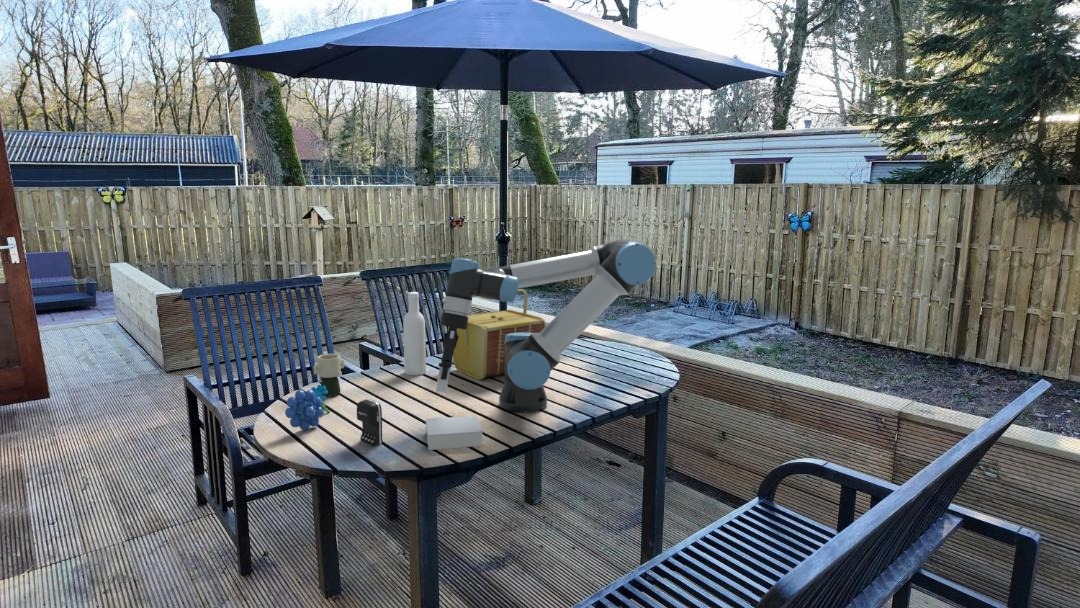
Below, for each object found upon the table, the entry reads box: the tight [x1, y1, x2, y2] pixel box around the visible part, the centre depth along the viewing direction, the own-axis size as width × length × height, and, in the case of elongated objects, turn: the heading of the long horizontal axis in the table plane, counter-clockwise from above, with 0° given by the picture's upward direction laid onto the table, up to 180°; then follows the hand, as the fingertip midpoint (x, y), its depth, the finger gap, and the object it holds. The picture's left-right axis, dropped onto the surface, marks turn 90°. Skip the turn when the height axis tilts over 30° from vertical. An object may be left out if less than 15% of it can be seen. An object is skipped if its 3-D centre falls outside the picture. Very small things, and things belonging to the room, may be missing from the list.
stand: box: [425, 415, 483, 451], centre depth 168 cm, size 14×12×4 cm
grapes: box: [284, 389, 325, 431], centre depth 172 cm, size 12×7×12 cm, turn 144°
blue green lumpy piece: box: [310, 384, 331, 414], centre depth 189 cm, size 11×6×10 cm
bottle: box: [403, 291, 427, 376], centre depth 228 cm, size 8×8×30 cm
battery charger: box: [356, 398, 383, 447], centre depth 164 cm, size 7×4×11 cm, turn 50°
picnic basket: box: [447, 288, 547, 381], centre depth 233 cm, size 29×26×30 cm
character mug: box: [313, 353, 345, 397], centre depth 203 cm, size 11×7×13 cm, turn 140°
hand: (440, 388), depth 173 cm, fingers open, 13 cm apart
